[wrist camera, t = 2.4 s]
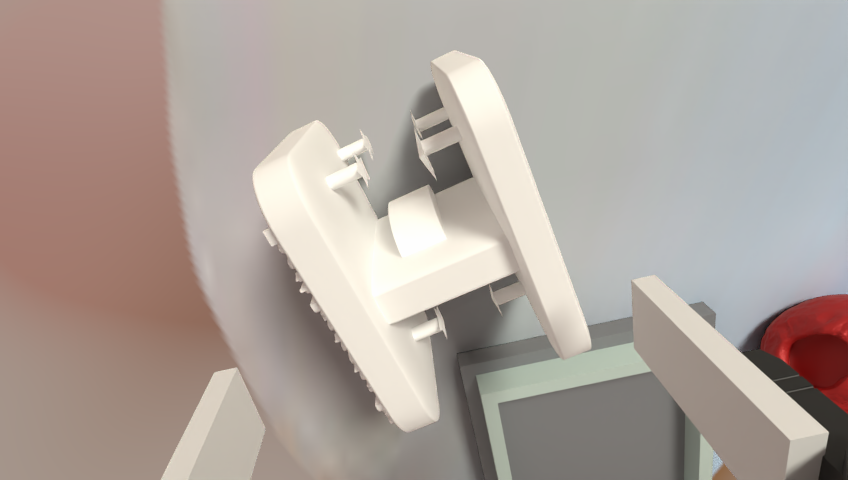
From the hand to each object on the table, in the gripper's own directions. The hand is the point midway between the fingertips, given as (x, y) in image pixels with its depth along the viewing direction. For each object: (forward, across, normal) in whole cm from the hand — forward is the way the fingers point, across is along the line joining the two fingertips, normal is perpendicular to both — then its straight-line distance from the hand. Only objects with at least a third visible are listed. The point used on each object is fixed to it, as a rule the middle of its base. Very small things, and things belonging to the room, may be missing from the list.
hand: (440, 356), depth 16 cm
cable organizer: (+16, 0, 0) cm, 16 cm away
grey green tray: (+15, -10, +23) cm, 29 cm away
